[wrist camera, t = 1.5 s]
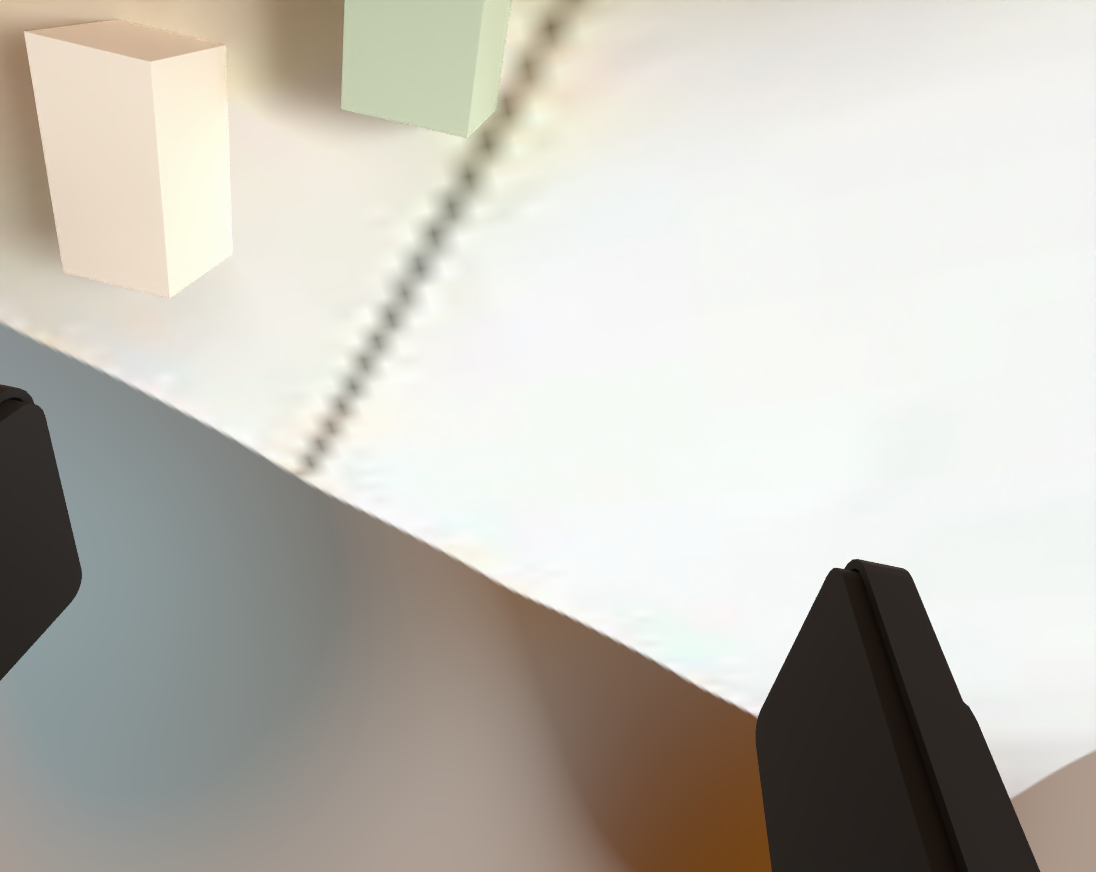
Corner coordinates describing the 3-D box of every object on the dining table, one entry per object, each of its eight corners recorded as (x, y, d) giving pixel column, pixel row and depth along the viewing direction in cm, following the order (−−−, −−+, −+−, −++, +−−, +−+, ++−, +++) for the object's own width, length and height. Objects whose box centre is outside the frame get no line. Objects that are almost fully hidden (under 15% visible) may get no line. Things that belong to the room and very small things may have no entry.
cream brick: (120, 18, 28) (23, 31, 24) (227, 44, 28) (150, 61, 24) (141, 230, 32) (63, 272, 28) (233, 252, 32) (170, 298, 28)
